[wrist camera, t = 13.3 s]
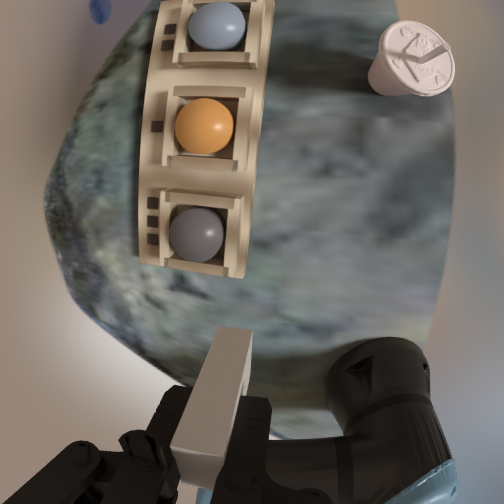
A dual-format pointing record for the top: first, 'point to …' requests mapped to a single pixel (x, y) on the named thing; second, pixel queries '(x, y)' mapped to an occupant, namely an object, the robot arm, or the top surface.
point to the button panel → (201, 165)
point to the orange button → (205, 126)
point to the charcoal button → (197, 233)
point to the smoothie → (411, 61)
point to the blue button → (218, 27)
